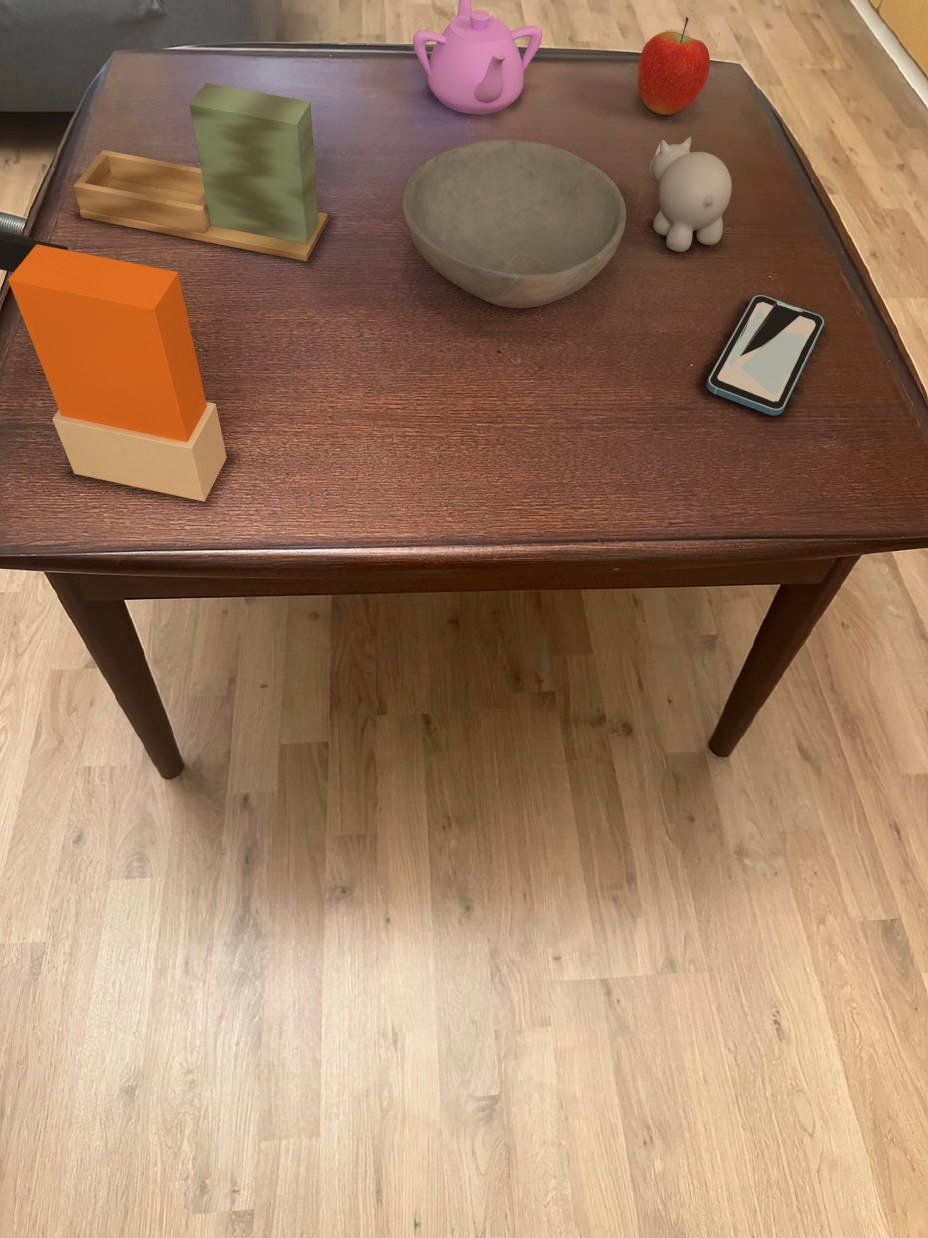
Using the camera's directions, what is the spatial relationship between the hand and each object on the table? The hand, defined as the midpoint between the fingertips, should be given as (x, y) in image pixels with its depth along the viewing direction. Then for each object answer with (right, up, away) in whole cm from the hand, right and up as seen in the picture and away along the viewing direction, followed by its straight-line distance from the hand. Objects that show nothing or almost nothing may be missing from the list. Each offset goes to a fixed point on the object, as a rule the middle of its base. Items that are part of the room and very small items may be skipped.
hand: (28, 322), depth 67 cm
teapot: (+32, +42, +46) cm, 70 cm away
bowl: (+35, +13, +27) cm, 46 cm away
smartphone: (+59, +4, +22) cm, 64 cm away
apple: (+55, +40, +47) cm, 83 cm away
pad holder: (+5, +20, +29) cm, 35 cm away
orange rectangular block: (+6, -5, +5) cm, 9 cm away
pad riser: (+5, -9, +10) cm, 14 cm away
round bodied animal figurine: (+53, +21, +34) cm, 67 cm away
